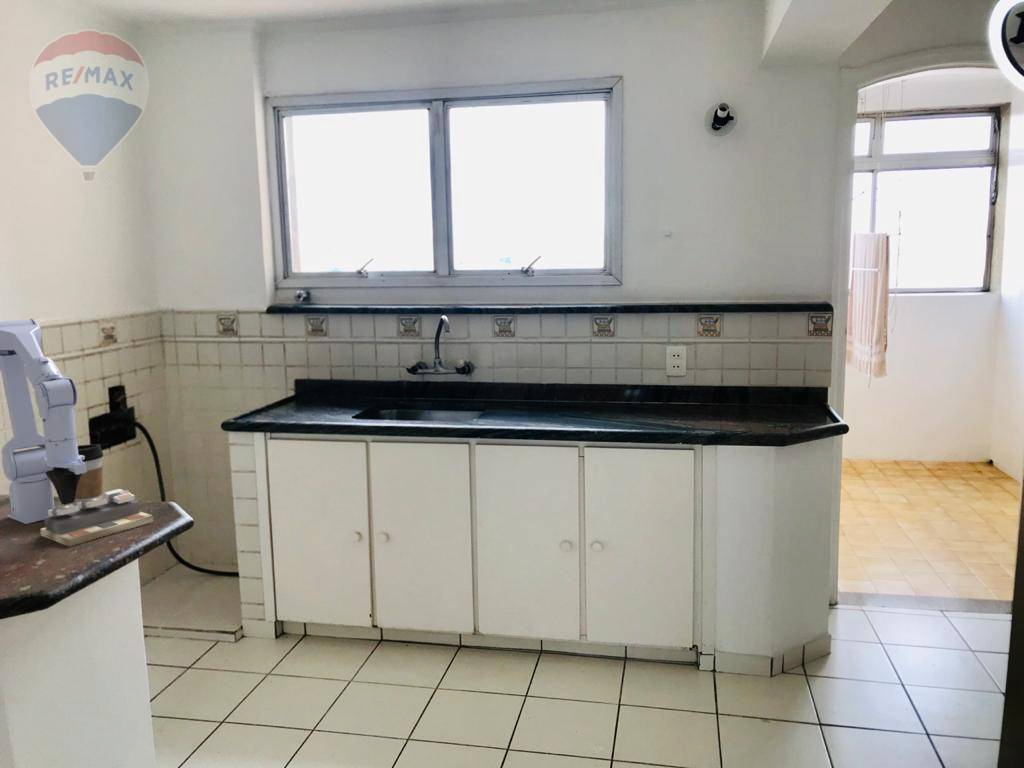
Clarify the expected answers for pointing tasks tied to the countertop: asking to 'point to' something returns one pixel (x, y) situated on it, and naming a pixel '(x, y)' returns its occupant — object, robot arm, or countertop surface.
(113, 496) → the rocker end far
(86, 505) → the rocker middle
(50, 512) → the rocker end near
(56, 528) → the switch unit
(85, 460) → the coffee cup
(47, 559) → the countertop surface
